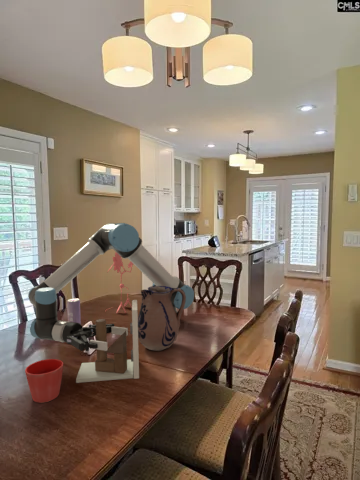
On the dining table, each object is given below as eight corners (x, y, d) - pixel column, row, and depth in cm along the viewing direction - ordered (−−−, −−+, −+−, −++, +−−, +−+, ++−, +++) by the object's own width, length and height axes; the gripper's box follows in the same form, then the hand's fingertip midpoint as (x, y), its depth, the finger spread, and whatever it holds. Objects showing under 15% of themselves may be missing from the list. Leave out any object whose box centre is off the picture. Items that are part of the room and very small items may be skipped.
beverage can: (83, 328, 160) (82, 298, 159) (75, 332, 155) (74, 301, 153) (73, 326, 162) (72, 297, 161) (65, 331, 156) (64, 300, 155)
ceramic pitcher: (132, 342, 141) (131, 286, 139) (176, 334, 149) (175, 281, 147) (144, 358, 125) (142, 295, 123) (192, 349, 133) (192, 290, 131)
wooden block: (123, 374, 111) (122, 323, 109) (95, 371, 113) (93, 321, 112) (127, 369, 114) (126, 319, 113) (99, 366, 117) (97, 318, 115)
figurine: (139, 304, 200) (136, 248, 197) (121, 317, 175) (117, 254, 173) (116, 303, 204) (113, 249, 201) (95, 316, 179) (92, 254, 177)
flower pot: (34, 387, 105) (32, 359, 104) (68, 385, 106) (67, 357, 105) (20, 407, 95) (19, 375, 94) (59, 404, 96) (57, 373, 95)
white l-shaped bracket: (138, 361, 123) (137, 299, 121) (139, 378, 110) (137, 310, 108) (82, 365, 120) (79, 302, 118) (75, 383, 107) (72, 313, 105)
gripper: (88, 330, 132) (134, 336, 125) (43, 355, 109) (97, 365, 101) (88, 312, 131) (134, 317, 124) (42, 334, 108) (96, 341, 101)
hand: (117, 338), depth 113 cm, fingers open, 13 cm apart
